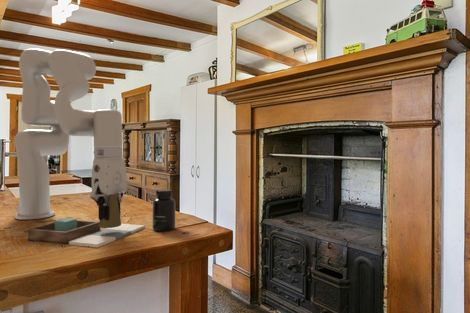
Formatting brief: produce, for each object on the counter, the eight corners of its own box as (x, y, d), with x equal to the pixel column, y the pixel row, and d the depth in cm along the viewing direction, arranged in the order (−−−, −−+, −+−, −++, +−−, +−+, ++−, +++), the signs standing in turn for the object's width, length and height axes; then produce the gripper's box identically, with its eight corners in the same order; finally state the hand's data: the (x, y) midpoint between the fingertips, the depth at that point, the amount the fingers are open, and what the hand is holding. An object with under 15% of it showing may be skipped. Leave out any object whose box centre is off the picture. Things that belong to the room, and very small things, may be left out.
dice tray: (28, 240, 93) (28, 229, 93) (65, 228, 105) (65, 219, 105) (65, 244, 89) (65, 232, 89) (100, 231, 101) (100, 221, 101)
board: (69, 244, 89) (68, 241, 89) (120, 226, 109) (120, 223, 108) (97, 247, 86) (97, 244, 86) (144, 228, 106) (144, 225, 106)
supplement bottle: (155, 233, 99) (155, 192, 99) (150, 228, 106) (149, 189, 105) (178, 230, 103) (178, 190, 102) (171, 225, 109) (171, 188, 108)
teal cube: (55, 234, 96) (54, 220, 96) (66, 231, 100) (66, 218, 100) (65, 236, 95) (65, 221, 95) (77, 232, 99) (76, 219, 98)
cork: (114, 228, 93) (113, 188, 93) (94, 227, 95) (93, 188, 94) (125, 223, 99) (124, 185, 99) (106, 222, 101) (105, 185, 100)
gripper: (98, 154, 87) (100, 225, 88) (137, 153, 103) (138, 213, 104) (75, 154, 90) (77, 223, 90) (116, 153, 106) (117, 211, 106)
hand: (109, 217), depth 97 cm, fingers closed on cork, 4 cm apart
